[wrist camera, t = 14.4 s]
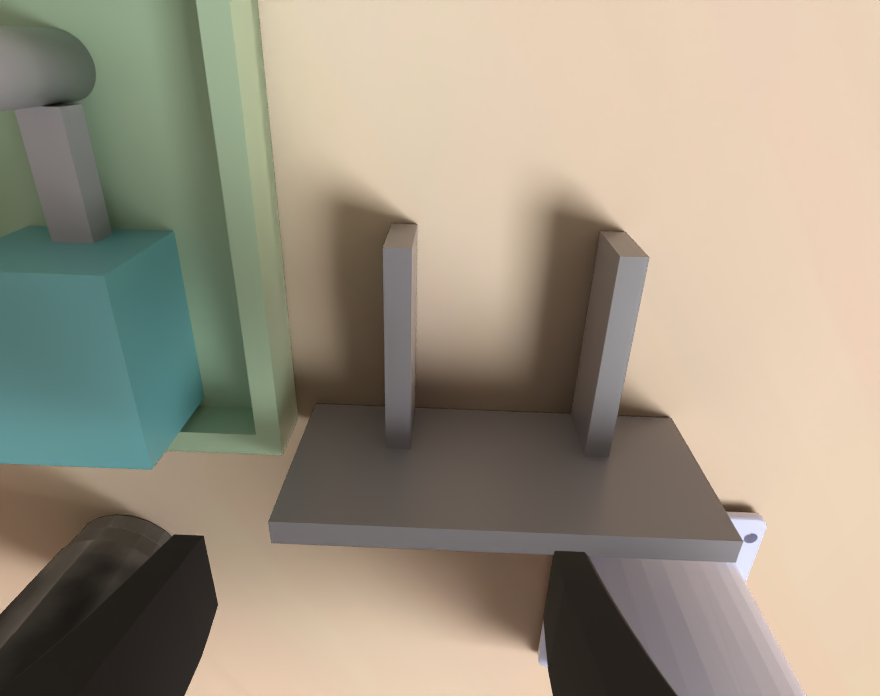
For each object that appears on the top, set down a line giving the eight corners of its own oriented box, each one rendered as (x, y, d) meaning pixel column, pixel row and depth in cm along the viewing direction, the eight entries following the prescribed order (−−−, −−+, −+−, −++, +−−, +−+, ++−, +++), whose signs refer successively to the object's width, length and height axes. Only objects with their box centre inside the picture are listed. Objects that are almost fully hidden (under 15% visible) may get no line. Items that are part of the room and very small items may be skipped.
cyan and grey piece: (204, 397, 21) (116, 518, 15) (78, 392, 21) (-54, 511, 15) (137, 30, 15) (-33, 20, 10) (-31, 25, 15) (-288, 12, 10)
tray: (298, 418, 22) (282, 455, 20) (15, 407, 22) (-29, 442, 20) (249, -83, 15) (217, -103, 13) (-166, -96, 15) (-260, -119, 13)
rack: (666, 435, 22) (735, 562, 16) (316, 421, 22) (271, 543, 16) (717, 235, 18) (826, 312, 13) (301, 219, 18) (236, 290, 13)
